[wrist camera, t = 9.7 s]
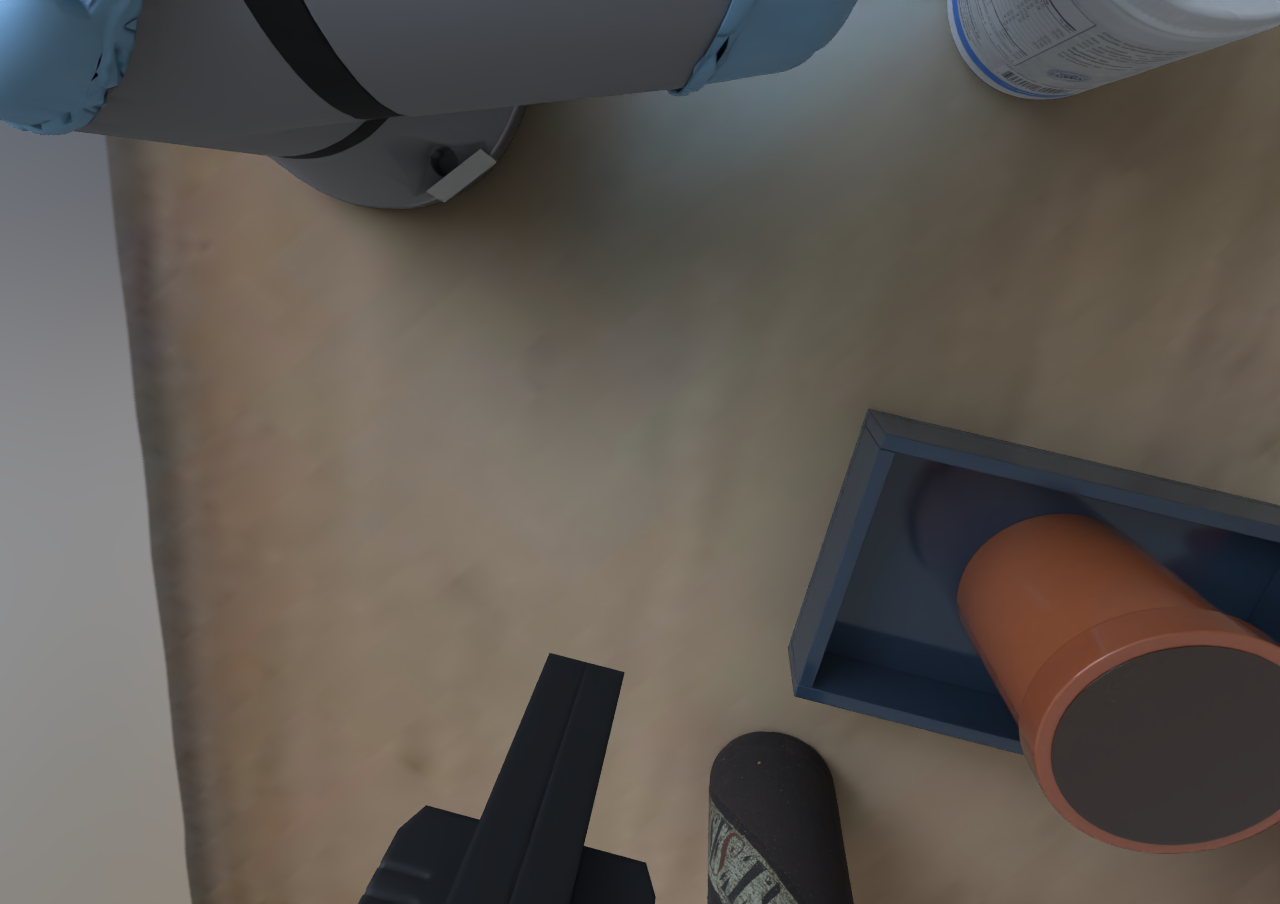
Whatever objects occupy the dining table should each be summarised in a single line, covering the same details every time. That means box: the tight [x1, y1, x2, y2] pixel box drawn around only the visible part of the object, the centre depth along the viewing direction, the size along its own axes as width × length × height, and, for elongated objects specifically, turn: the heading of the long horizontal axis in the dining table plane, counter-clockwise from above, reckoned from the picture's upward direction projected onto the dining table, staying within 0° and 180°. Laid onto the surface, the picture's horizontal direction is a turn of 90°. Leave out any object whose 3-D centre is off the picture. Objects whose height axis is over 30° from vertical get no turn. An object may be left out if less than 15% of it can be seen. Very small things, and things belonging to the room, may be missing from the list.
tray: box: [788, 409, 1280, 755], centre depth 37 cm, size 16×24×5 cm, turn 78°
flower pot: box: [957, 513, 1280, 854], centre depth 33 cm, size 11×16×15 cm
